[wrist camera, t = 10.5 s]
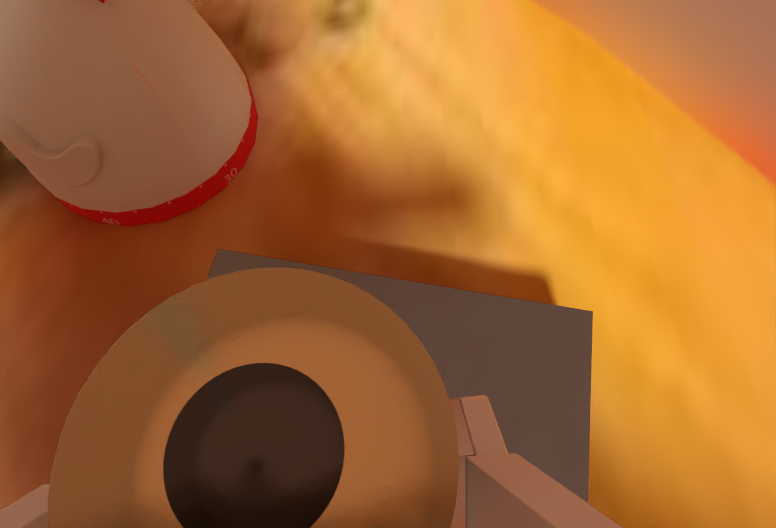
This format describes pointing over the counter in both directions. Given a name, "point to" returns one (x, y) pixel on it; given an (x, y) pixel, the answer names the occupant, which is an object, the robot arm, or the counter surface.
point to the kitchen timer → (122, 105)
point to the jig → (493, 359)
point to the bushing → (260, 415)
